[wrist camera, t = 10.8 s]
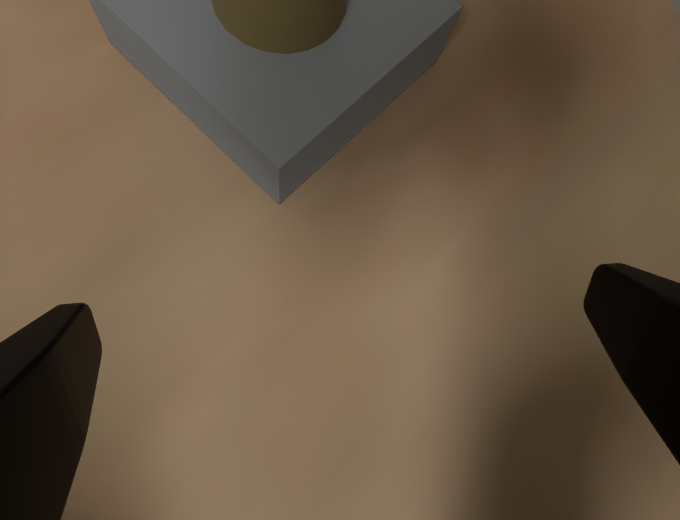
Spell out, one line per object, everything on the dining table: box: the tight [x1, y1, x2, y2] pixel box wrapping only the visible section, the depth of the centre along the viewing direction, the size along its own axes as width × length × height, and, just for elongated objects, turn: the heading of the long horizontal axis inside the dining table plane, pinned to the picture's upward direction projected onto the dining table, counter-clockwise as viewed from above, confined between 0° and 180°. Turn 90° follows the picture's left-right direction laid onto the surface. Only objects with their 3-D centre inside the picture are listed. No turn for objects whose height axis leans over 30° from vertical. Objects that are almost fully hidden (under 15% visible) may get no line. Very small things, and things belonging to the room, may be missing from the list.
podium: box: [89, 0, 463, 204], centre depth 23 cm, size 12×12×4 cm
